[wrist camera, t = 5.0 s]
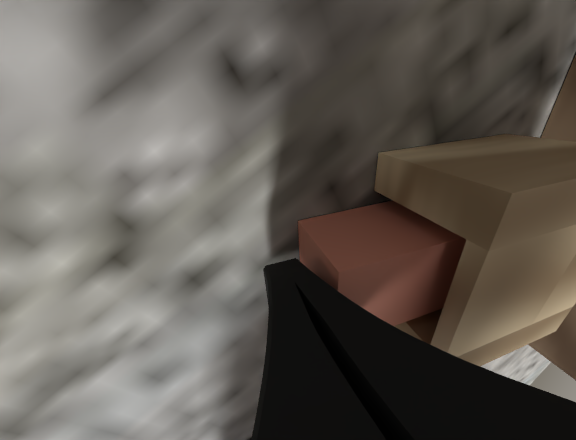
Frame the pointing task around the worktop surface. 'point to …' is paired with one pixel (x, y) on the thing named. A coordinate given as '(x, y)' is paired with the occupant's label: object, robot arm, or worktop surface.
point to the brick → (383, 258)
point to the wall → (572, 332)
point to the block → (494, 237)
